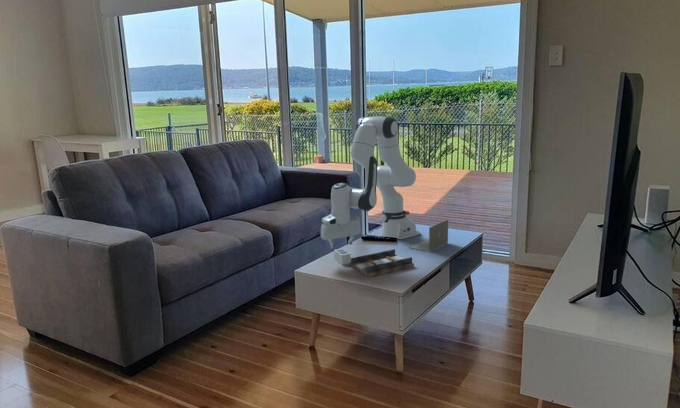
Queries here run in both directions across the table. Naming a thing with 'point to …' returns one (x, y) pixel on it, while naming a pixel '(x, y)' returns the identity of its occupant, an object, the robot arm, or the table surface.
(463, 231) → the table surface
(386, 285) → the table surface
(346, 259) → the block
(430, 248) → the laptop
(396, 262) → the rail board
